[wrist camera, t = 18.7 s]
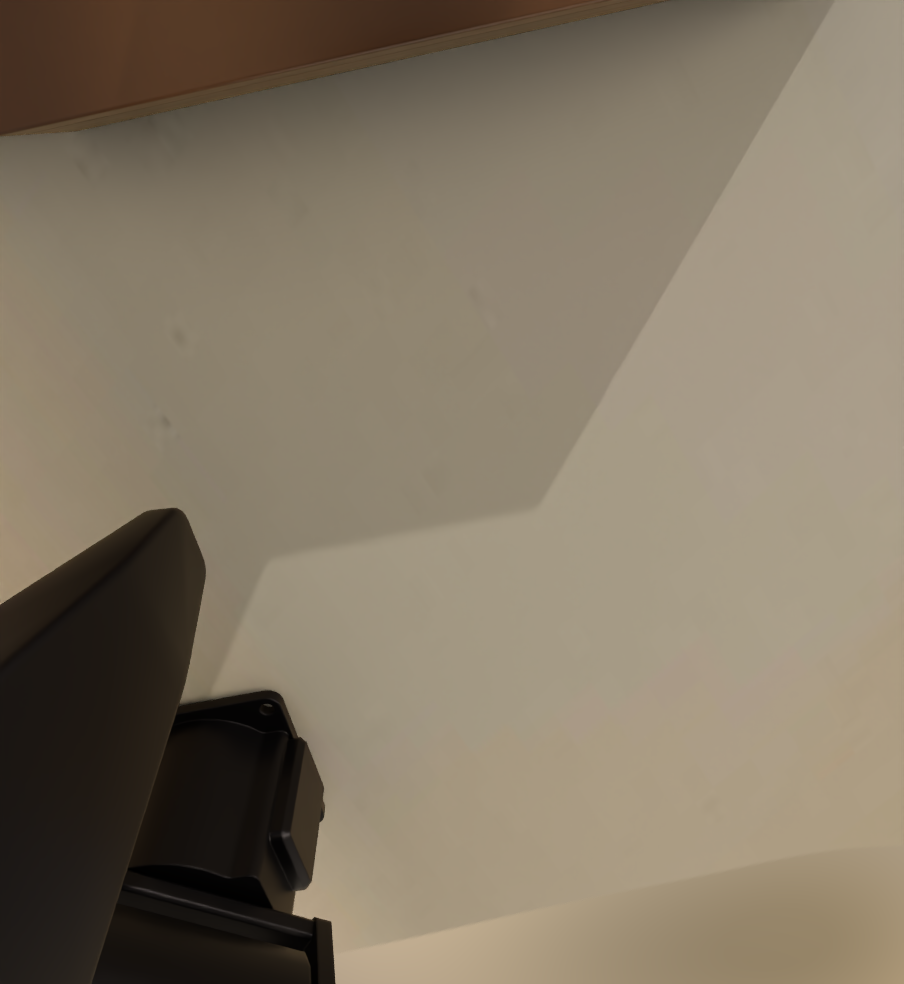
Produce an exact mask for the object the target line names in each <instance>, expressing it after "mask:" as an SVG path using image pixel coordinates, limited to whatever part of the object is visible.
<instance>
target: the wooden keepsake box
mask: <svg viewBox="0 0 904 984" xmlns="http://www.w3.org/2000/svg"><path fill="white" fill-rule="evenodd" d="M664 1H669V0H0V136H15V135H24V134H26V135H29V134H44V133H60V132H75V131H80V130H85V129H90V128H94V127H99V126H103V125H108V124H112V123H117V122H121V121H126V120H130V119H135V118H139V117H144V116H148V115H153V114H157V113H162V112H166V111H171V110H176V109H180V108H185V107H189V106H194V105H198V104H203V103H207V102H212V101H216V100H221V99H225V98H230V97H234V96H239V95H243V94H248V93H252V92H257V91H262V90H266V89H271V88H275V87H280V86H284V85H289V84H293V83H298V82H302V81H307V80H311V79H316V78H320V77H325V76H329V75H334V74H338V73H343V72H348V71H352V70H357V69H361V68H366V67H370V66H375V65H379V64H384V63H388V62H393V61H397V60H402V59H406V58H411V57H415V56H420V55H424V54H429V53H434V52H438V51H443V50H447V49H452V48H456V47H461V46H465V45H470V44H474V43H479V42H483V41H488V40H492V39H497V38H501V37H506V36H510V35H515V34H520V33H524V32H529V31H533V30H538V29H542V28H547V27H551V26H556V25H560V24H565V23H569V22H574V21H578V20H583V19H587V18H592V17H596V16H601V15H606V14H610V13H615V12H619V11H624V10H628V9H633V8H637V7H642V6H646V5H651V4H655V3H660V2H664Z"/></svg>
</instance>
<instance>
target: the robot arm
mask: <svg viewBox="0 0 904 984" xmlns="http://www.w3.org/2000/svg"><path fill="white" fill-rule="evenodd" d="M205 577H206V569H205V562H204V559H203V556H202V553H201V551H200V549H199V546H198V544H197V541H196V539H195V536H194V534H193V531H192V529H191V526H190V524H189V521H188V519H187V517H186V515H185V514H184V513H183V511H181V510H179V509H178V508H167V509H158V510H150V511H146V512H144V513H142V514H141V515H139V516H138V517H136V518H135V519H133V520H131V521H130V522H128V523H127V524H125V525H124V526H122V527H121V528H119V529H117V530H116V531H114V532H113V533H111V534H110V535H108V536H107V537H105V538H103V539H102V540H100V541H99V542H97V543H96V544H94V545H92V546H91V547H89V548H88V549H86V550H85V551H83V552H82V553H80V554H78V555H77V556H75V557H74V558H72V559H71V560H69V561H68V562H66V563H64V564H63V565H61V566H60V567H58V568H57V569H55V570H54V571H52V572H50V573H49V574H47V575H46V576H44V577H43V578H41V579H40V580H38V581H36V582H35V583H33V584H32V585H30V586H29V587H27V588H26V589H24V590H22V591H21V592H19V593H18V594H16V595H15V596H13V597H12V598H10V599H8V600H7V601H5V602H4V603H2V604H1V605H0V984H335V971H334V955H333V940H332V925H331V922H330V921H327V920H323V919H319V918H316V917H314V918H313V919H312V920H311V919H307V918H303V917H300V916H296V915H292V911H293V905H294V898H295V892H296V891H299V890H305V889H307V887H308V886H309V884H310V883H311V881H312V875H313V868H314V860H315V852H316V845H317V837H318V830H319V822H321V821H322V820H323V818H324V812H325V804H324V802H323V792H324V786H323V783H322V781H321V778H320V776H319V773H318V770H317V768H316V765H315V763H314V760H313V758H312V755H311V752H310V750H309V747H308V745H307V742H306V741H304V740H303V739H302V738H301V737H300V738H298V736H297V733H296V731H295V728H294V726H293V723H292V721H291V718H290V715H289V713H288V710H287V708H286V705H285V703H284V700H283V698H282V697H281V695H280V694H278V693H277V692H274V691H271V690H269V691H260V692H254V693H249V694H243V695H238V696H232V697H227V698H221V699H216V700H210V701H205V702H199V703H194V704H188V705H183V706H179V703H180V699H181V696H182V692H183V689H184V685H185V682H186V677H187V673H188V668H189V664H190V658H191V653H192V648H193V642H194V637H195V632H196V626H197V621H198V616H199V610H200V605H201V600H202V594H203V589H204V584H205ZM264 704H270V705H272V707H267V706H265V705H264Z"/></svg>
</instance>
